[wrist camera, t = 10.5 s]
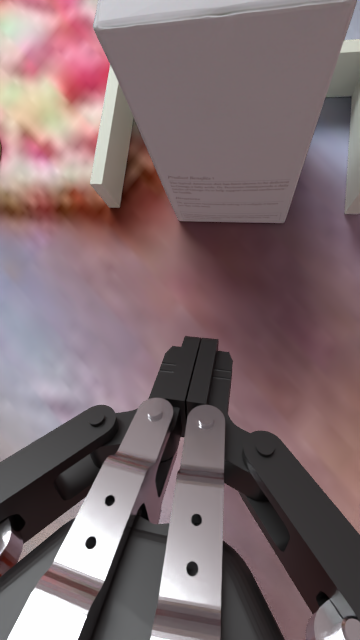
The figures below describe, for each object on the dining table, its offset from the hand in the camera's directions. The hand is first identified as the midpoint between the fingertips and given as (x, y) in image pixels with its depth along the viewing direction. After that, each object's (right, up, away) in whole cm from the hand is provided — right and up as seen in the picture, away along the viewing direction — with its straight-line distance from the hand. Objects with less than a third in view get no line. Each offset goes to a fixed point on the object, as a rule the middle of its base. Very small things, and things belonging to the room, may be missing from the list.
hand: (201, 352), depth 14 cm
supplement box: (+3, +11, +7) cm, 14 cm away
